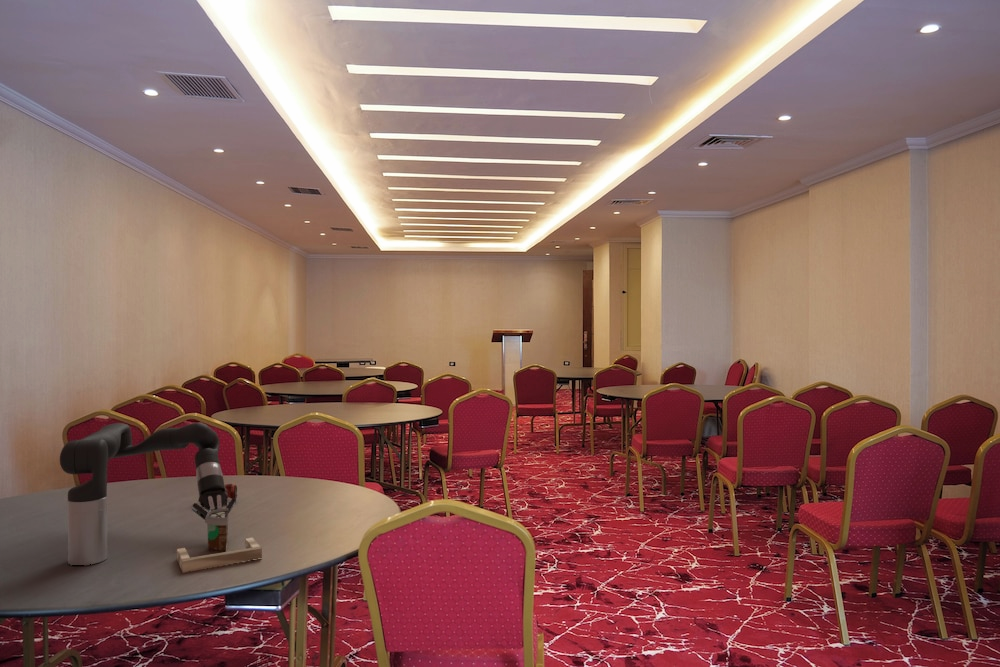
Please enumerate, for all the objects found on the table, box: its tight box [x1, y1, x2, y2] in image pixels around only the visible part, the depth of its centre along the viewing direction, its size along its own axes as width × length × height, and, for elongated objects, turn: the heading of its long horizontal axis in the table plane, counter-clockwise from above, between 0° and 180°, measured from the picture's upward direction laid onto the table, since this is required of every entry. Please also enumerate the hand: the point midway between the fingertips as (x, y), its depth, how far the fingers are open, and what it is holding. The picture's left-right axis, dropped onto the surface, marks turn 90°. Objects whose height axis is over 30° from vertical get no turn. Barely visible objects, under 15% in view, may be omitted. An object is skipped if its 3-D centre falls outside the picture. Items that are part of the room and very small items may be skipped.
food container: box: [204, 507, 229, 552], centre depth 200 cm, size 12×6×10 cm, turn 20°
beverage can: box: [224, 483, 238, 504], centre depth 254 cm, size 7×12×7 cm, turn 106°
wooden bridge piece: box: [176, 537, 263, 574], centre depth 190 cm, size 12×20×3 cm, turn 122°
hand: (218, 530), depth 205 cm, fingers closed
